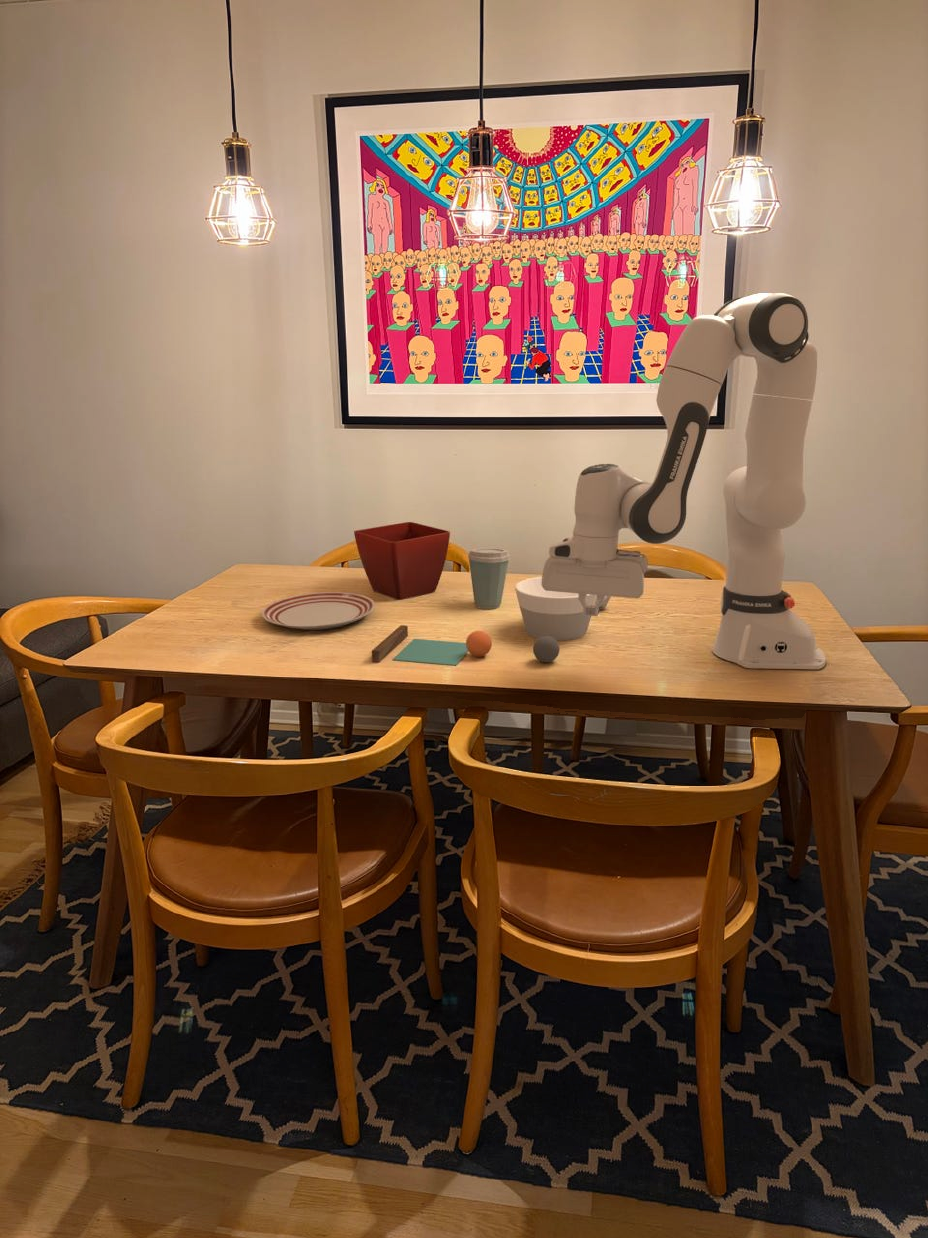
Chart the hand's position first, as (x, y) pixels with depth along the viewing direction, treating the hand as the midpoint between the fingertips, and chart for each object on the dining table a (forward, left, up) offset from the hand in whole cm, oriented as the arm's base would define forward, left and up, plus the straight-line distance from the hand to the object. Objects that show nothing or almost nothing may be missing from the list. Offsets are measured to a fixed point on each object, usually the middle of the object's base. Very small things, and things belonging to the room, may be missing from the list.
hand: (590, 614), depth 170 cm
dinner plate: (+68, -17, -11) cm, 71 cm away
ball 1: (+23, 0, -8) cm, 25 cm away
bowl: (+10, -21, -11) cm, 26 cm away
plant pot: (+56, -45, -11) cm, 73 cm away
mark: (+33, 0, -11) cm, 35 cm away
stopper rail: (+43, 0, -11) cm, 45 cm away
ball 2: (+9, 0, -8) cm, 12 cm away
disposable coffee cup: (+30, -37, -11) cm, 49 cm away
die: (+4, -41, -11) cm, 43 cm away
